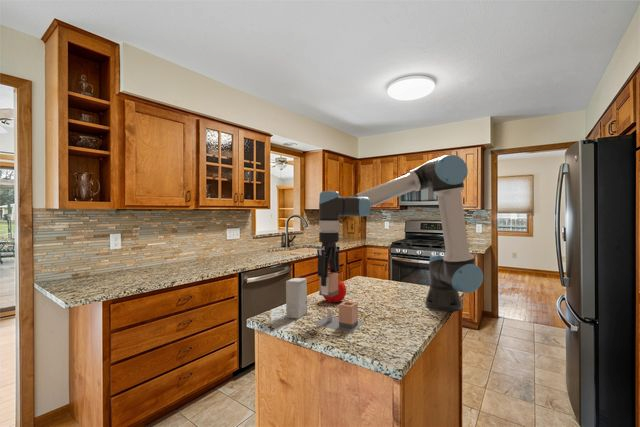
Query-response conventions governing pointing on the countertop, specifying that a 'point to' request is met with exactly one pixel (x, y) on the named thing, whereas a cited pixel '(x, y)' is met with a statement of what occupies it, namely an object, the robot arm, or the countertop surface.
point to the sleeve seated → (348, 314)
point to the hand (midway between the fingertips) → (328, 292)
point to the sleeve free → (331, 284)
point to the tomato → (340, 294)
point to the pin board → (334, 322)
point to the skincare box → (296, 297)
